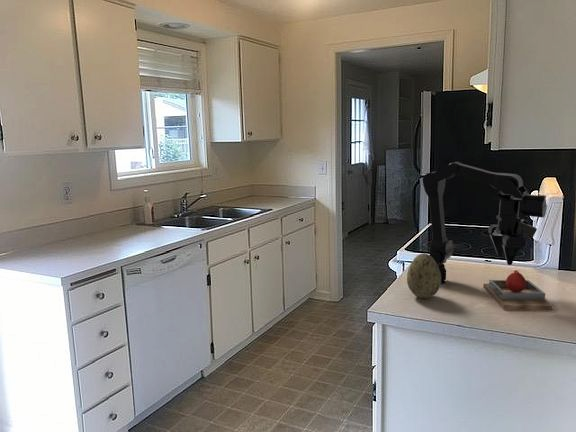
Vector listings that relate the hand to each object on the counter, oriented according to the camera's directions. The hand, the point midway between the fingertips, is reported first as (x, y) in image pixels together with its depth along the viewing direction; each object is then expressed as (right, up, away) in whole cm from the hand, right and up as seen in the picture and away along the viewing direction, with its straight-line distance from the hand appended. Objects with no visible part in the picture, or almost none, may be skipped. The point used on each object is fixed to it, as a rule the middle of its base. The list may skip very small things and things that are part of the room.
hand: (504, 260), depth 153 cm
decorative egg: (-26, -12, +1) cm, 29 cm away
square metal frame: (+3, -10, -2) cm, 11 cm away
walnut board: (+3, -12, -2) cm, 12 cm away
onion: (+2, -11, -2) cm, 11 cm away
